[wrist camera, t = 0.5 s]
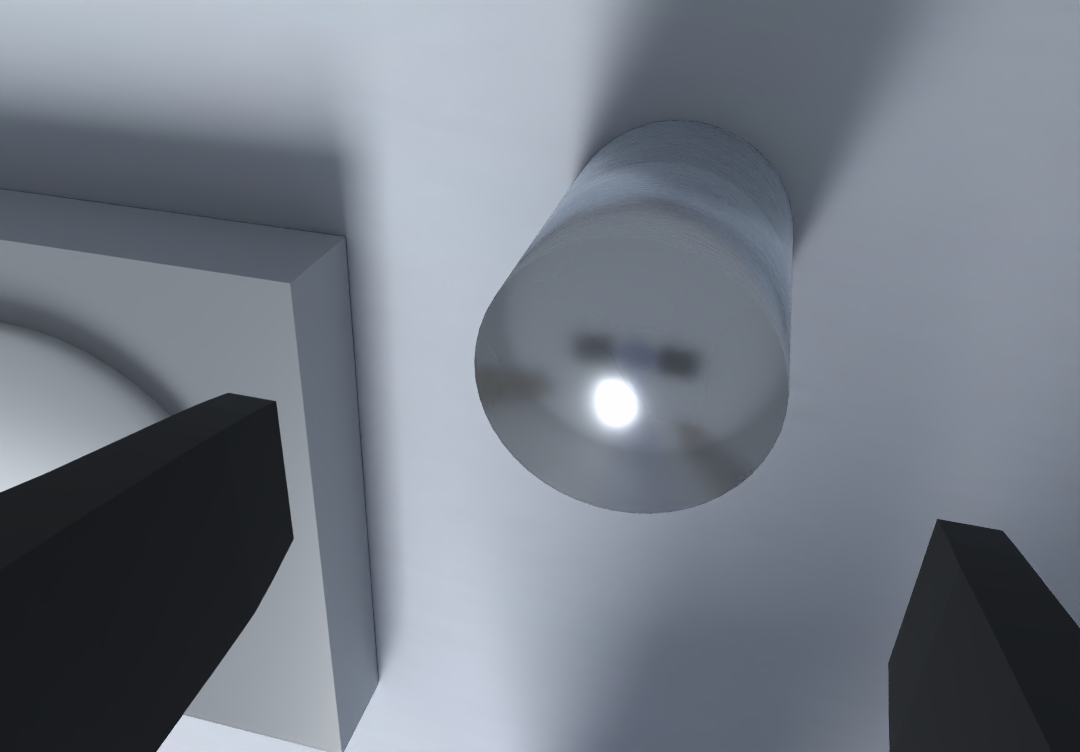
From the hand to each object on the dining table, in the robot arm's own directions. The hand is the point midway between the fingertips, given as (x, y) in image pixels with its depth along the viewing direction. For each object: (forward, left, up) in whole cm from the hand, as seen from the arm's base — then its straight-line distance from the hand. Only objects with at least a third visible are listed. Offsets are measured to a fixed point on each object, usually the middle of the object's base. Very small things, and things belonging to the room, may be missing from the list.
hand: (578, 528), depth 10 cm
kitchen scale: (-8, +14, -9) cm, 19 cm away
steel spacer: (0, 0, -9) cm, 9 cm away
